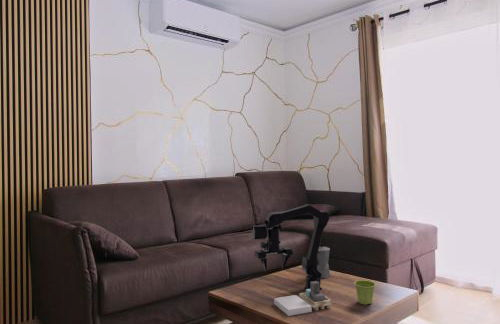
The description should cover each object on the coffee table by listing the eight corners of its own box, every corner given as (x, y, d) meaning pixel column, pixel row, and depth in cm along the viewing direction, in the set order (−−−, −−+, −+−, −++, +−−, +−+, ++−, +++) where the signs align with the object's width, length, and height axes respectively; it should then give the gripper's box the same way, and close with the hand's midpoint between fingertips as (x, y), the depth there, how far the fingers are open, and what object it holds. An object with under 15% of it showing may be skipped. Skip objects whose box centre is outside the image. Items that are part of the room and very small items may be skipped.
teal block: (313, 294, 189) (313, 288, 189) (316, 296, 186) (316, 290, 186) (305, 295, 187) (305, 289, 187) (309, 298, 184) (308, 291, 184)
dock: (295, 300, 188) (295, 294, 188) (311, 311, 174) (311, 306, 174) (274, 303, 184) (274, 298, 184) (288, 315, 170) (288, 310, 170)
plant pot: (377, 300, 186) (376, 281, 186) (374, 307, 177) (374, 287, 177) (356, 297, 190) (356, 279, 190) (352, 304, 181) (352, 285, 181)
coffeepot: (319, 271, 233) (318, 240, 232) (334, 273, 228) (334, 241, 227) (307, 278, 220) (307, 245, 219) (324, 281, 215) (323, 247, 214)
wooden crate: (316, 298, 191) (316, 277, 191) (331, 307, 179) (331, 285, 178) (299, 300, 188) (299, 279, 188) (313, 311, 175) (313, 288, 175)
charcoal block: (321, 299, 182) (321, 293, 182) (324, 301, 179) (324, 295, 179) (313, 300, 181) (313, 294, 181) (316, 303, 178) (316, 296, 178)
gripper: (283, 233, 210) (284, 263, 210) (250, 237, 203) (250, 268, 204) (293, 237, 200) (294, 269, 200) (258, 241, 193) (259, 274, 193)
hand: (274, 270), depth 199 cm, fingers open, 9 cm apart
